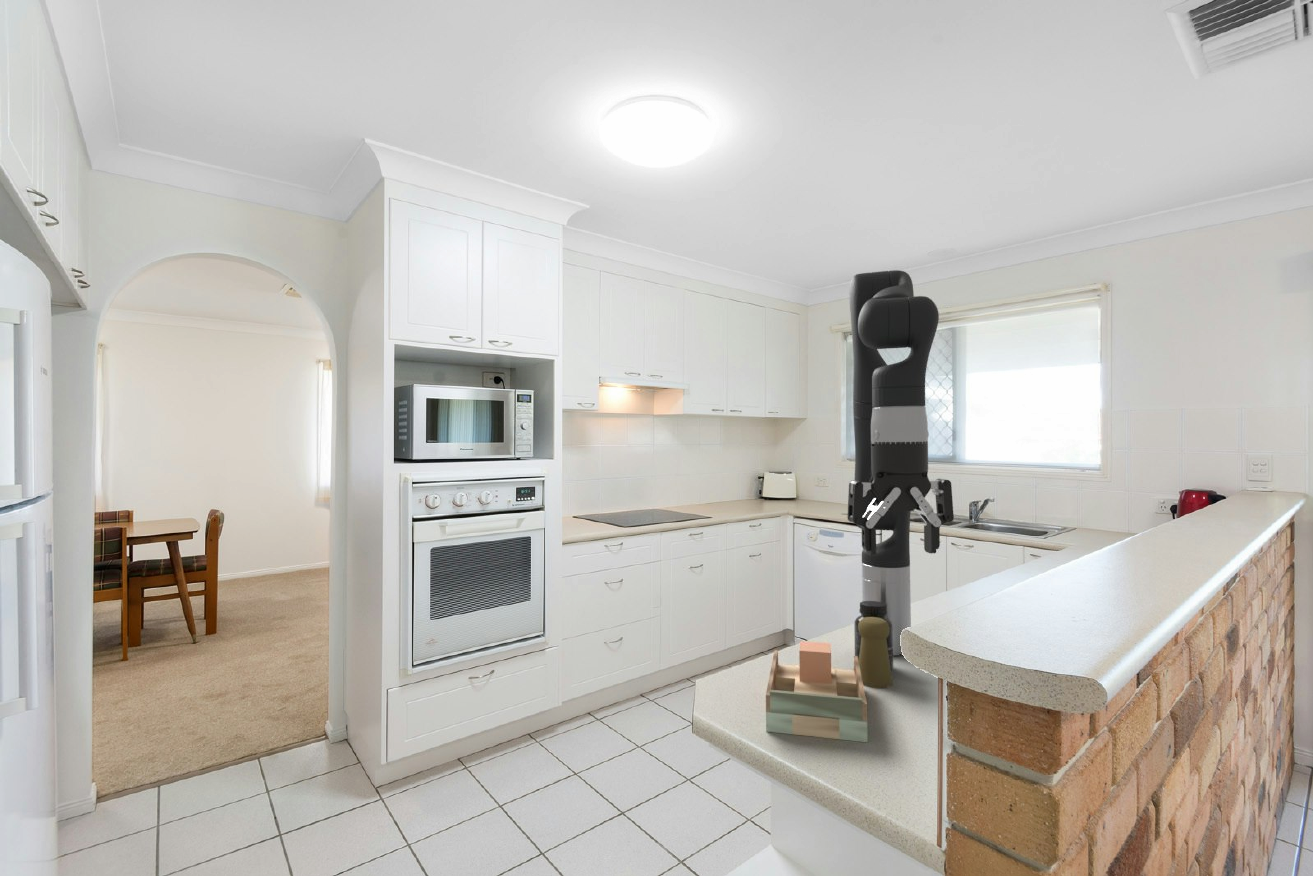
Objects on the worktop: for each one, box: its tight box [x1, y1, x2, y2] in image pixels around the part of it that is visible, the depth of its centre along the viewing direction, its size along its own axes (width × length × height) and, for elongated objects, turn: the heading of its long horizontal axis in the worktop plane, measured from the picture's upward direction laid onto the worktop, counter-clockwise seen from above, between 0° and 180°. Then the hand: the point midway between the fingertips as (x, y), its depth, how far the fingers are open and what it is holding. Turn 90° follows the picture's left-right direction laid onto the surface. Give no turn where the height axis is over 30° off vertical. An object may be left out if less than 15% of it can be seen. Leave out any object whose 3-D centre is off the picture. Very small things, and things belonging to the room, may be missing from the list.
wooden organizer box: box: [765, 649, 868, 743], centre depth 98 cm, size 20×14×6 cm
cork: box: [858, 617, 894, 689], centre depth 108 cm, size 6×6×11 cm
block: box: [798, 640, 832, 684], centre depth 102 cm, size 5×5×5 cm
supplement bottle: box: [853, 601, 894, 672], centre depth 114 cm, size 7×7×12 cm
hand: (900, 553), depth 87 cm, fingers open, 8 cm apart
